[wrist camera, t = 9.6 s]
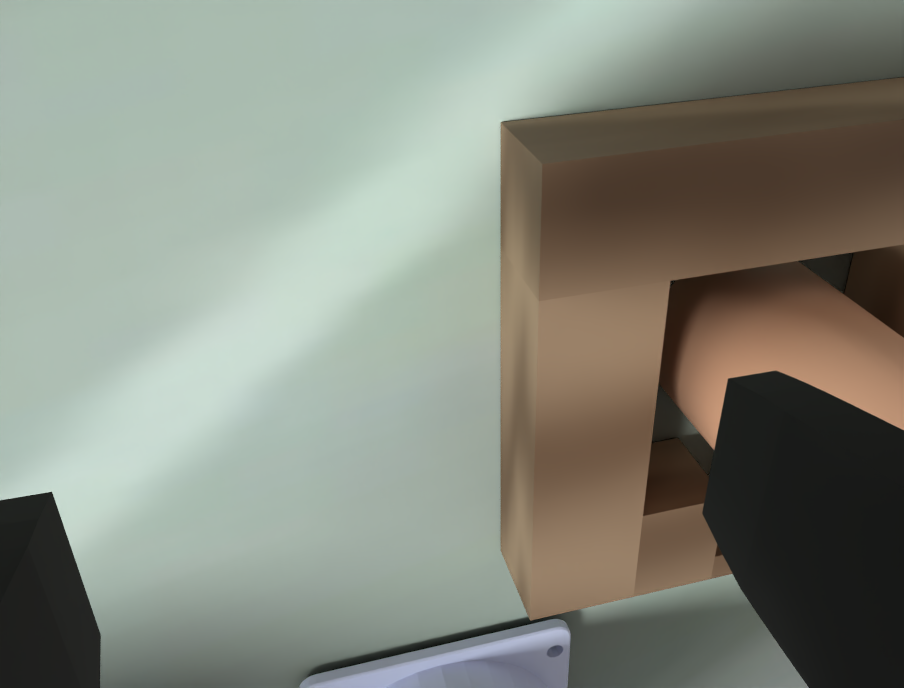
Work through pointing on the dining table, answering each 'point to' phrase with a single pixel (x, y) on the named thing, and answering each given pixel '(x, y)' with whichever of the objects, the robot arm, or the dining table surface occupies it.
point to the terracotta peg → (776, 342)
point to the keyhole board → (659, 305)
